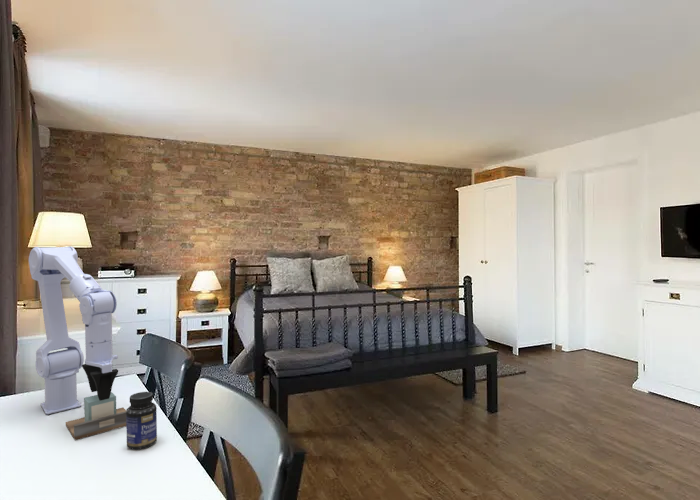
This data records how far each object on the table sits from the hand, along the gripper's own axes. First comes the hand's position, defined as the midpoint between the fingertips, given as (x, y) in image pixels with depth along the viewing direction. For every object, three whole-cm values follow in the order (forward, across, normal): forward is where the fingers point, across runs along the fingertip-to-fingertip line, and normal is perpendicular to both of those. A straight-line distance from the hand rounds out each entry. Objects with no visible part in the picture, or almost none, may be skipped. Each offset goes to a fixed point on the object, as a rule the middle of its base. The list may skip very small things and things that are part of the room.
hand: (100, 395), depth 105 cm
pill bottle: (+8, -18, -4) cm, 20 cm away
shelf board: (+7, 0, 0) cm, 7 cm away
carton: (+6, 0, 0) cm, 6 cm away
